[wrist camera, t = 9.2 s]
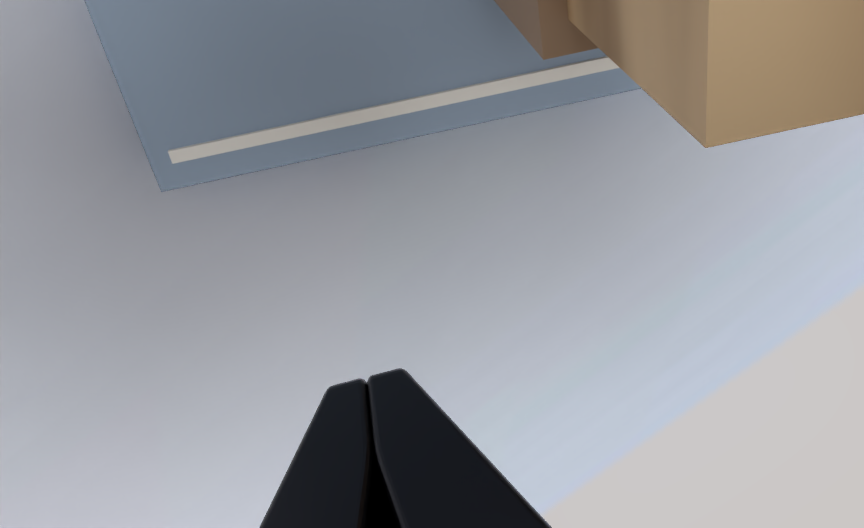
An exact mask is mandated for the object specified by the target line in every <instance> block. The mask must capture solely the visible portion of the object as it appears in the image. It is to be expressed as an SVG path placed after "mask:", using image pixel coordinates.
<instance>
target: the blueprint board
mask: <svg viewBox="0 0 864 528" xmlns="http://www.w3.org/2000/svg"><path fill="white" fill-rule="evenodd" d="M84 1H85V3H86V6H87V8H88V11H89V13H90V16H91V18H92V21H93V23H94V26H95V28H96V31H97V33H98V36H99V38H100V41H101V43H102V46H103V48H104V51H105V53H106V56H107V58H108V61H109V63H110V66H111V68H112V71H113V73H114V75H115V78H116V80H117V83H118V85H119V88H120V90H121V93H122V95H123V98H124V100H125V103H126V105H127V108H128V110H129V113H130V115H131V118H132V120H133V123H134V125H135V128H136V130H137V133H138V135H139V138H140V140H141V143H142V145H143V148H144V150H145V153H146V155H147V158H148V160H149V162H150V165H151V167H152V170H153V172H154V175H155V177H156V180H157V182H158V185H159V187H160V190H161V192H164V191H168V190H173V189H178V188H182V187H187V186H192V185H196V184H201V183H205V182H210V181H215V180H219V179H224V178H229V177H233V176H238V175H242V174H247V173H252V172H256V171H261V170H266V169H270V168H275V167H279V166H284V165H289V164H293V163H298V162H303V161H307V160H312V159H317V158H321V157H326V156H330V155H335V154H340V153H344V152H349V151H354V150H358V149H363V148H367V147H372V146H377V145H381V144H386V143H391V142H395V141H400V140H404V139H409V138H414V137H418V136H423V135H428V134H432V133H437V132H442V131H446V130H451V129H455V128H460V127H465V126H469V125H474V124H479V123H483V122H488V121H492V120H497V119H502V118H506V117H511V116H516V115H520V114H525V113H530V112H534V111H539V110H543V109H548V108H553V107H557V106H562V105H567V104H571V103H576V102H580V101H585V100H590V99H594V98H599V97H604V96H608V95H613V94H617V93H622V92H627V91H631V90H636V89H641V87H640V86H639V85H638V84H637V83H636V82H634V81H633V80H632V79H631V78H630V77H629V76H628V75H627V74H626V73H625V72H624V71H623V70H622V69H621V68H619V67H618V66H617V65H616V64H615V63H614V62H613V61H612V60H611V59H610V58H609V57H608V56H607V55H606V54H605V53H603V52H602V51H601V50H600V49H599V48H598V47H597V46H596V45H595V44H594V43H593V42H592V41H591V40H590V39H589V38H587V37H586V36H585V35H584V34H583V33H582V32H581V31H580V30H579V29H578V28H577V27H576V26H575V25H574V24H572V23H571V22H570V21H569V20H568V9H567V0H84Z"/></svg>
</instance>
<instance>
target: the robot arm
mask: <svg viewBox="0 0 864 528" xmlns="http://www.w3.org/2000/svg"><path fill="white" fill-rule="evenodd" d="M260 528H552V527H551V526H550V525H549V524H548V523H547V522H546V521H545V520H544V519H543V518H542V517H541V516H540V514H539V513H538V512H537V511H536V510H535V509H534V508H533V507H532V506H531V505H530V504H529V503H528V502H527V500H526V499H525V498H524V497H523V496H522V495H521V494H520V493H519V492H518V491H517V490H516V489H515V488H514V486H513V485H512V484H511V483H510V482H509V481H508V480H507V479H506V478H505V477H504V476H503V475H502V473H501V472H500V471H499V470H498V469H497V468H496V467H495V466H494V465H493V464H492V463H491V462H490V461H489V459H488V458H487V457H486V456H485V455H484V454H483V453H482V452H481V451H480V450H479V449H478V448H477V447H476V445H475V444H474V443H473V442H472V441H471V440H470V439H469V438H468V437H467V436H466V435H465V434H464V432H463V431H462V430H461V429H460V428H459V427H458V426H457V425H456V424H455V423H454V422H453V421H452V420H451V418H450V417H449V416H448V415H447V414H446V413H445V412H444V411H443V410H442V409H441V408H440V407H439V406H438V404H437V403H436V402H435V401H434V400H433V399H432V398H431V397H430V396H429V395H428V394H427V393H426V392H425V390H424V389H423V388H422V387H421V386H420V385H419V384H418V383H417V382H416V381H415V380H414V379H413V377H412V376H411V375H410V374H409V373H408V372H407V371H405V370H404V369H395V370H391V371H387V372H383V373H379V374H375V375H372V376H370V377H369V379H368V382H366V381H365V380H363V379H356V380H352V381H348V382H345V383H341V384H337V385H333V386H331V387H329V388H328V389H327V391H326V392H325V394H324V396H323V398H322V401H321V403H320V405H319V407H318V409H317V411H316V413H315V415H314V417H313V419H312V421H311V423H310V425H309V427H308V429H307V431H306V433H305V435H304V437H303V439H302V441H301V444H300V446H299V448H298V450H297V452H296V454H295V456H294V458H293V460H292V462H291V464H290V466H289V468H288V470H287V472H286V474H285V476H284V478H283V480H282V482H281V485H280V487H279V489H278V491H277V493H276V495H275V497H274V499H273V501H272V503H271V505H270V507H269V509H268V511H267V513H266V515H265V517H264V519H263V521H262V523H261V525H260Z"/></svg>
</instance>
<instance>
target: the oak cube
mask: <svg viewBox="0 0 864 528" xmlns="http://www.w3.org/2000/svg"><path fill="white" fill-rule="evenodd" d="M567 9H568V20H569V21H570V22H571V23H572V24H574V25H575V26H576V27H577V28H578V29H579V30H580V31H581V32H582V33H583V34H584V35H585V36H586V37H587V38H589V39H590V40H591V41H592V42H593V43H594V44H595V45H596V46H597V47H598V48H599V49H600V50H601V51H602V52H603V53H605V54H606V55H607V56H608V57H609V58H610V59H611V60H612V61H613V62H614V63H615V64H616V65H617V66H618V67H619V68H621V69H622V70H623V71H624V72H625V73H626V74H627V75H628V76H629V77H630V78H631V79H632V80H633V81H634V82H636V83H637V84H638V85H639V86H640V87H641V88H642V89H643V90H644V91H645V92H646V93H647V94H648V95H649V96H650V97H652V98H653V99H654V100H655V101H656V102H657V103H658V104H659V105H660V106H661V107H662V108H663V109H664V110H665V111H666V112H668V113H669V114H670V115H671V116H672V117H673V118H674V119H675V120H676V121H677V122H678V123H679V124H680V125H681V126H683V127H684V128H685V129H686V130H687V131H688V132H689V133H690V134H691V135H692V136H693V137H694V138H695V139H696V140H697V141H699V142H700V143H701V144H702V145H703V146H704V147H705V148H708V147H713V146H717V145H722V144H727V143H731V142H736V141H741V140H745V139H750V138H755V137H759V136H764V135H769V134H773V133H778V132H783V131H787V130H792V129H796V128H801V127H806V126H810V125H815V124H820V123H824V122H829V121H834V120H838V119H843V118H848V117H852V116H857V115H862V114H864V0H567Z"/></svg>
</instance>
